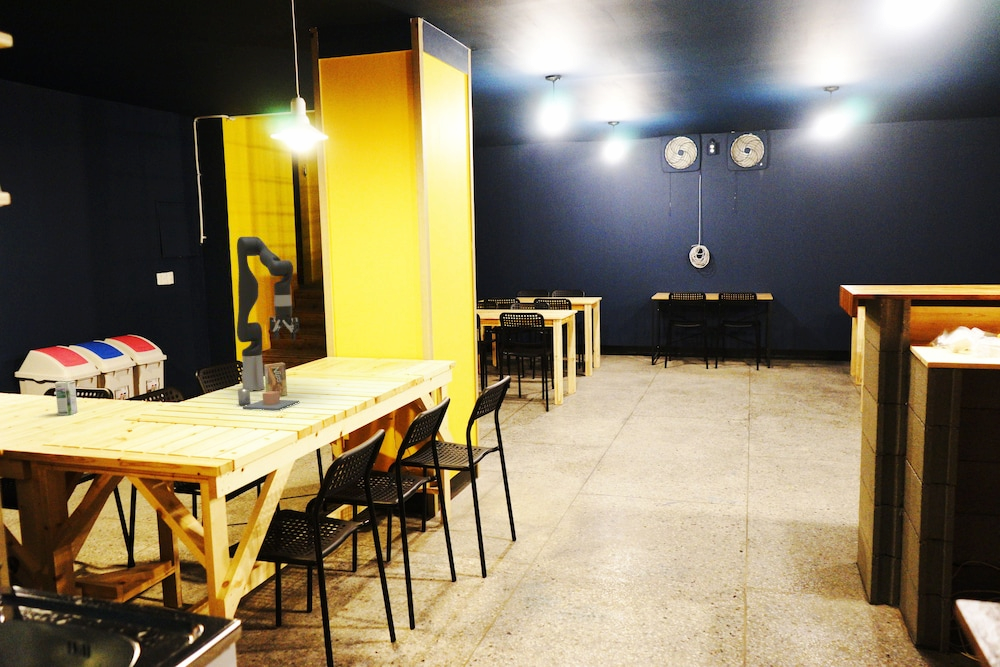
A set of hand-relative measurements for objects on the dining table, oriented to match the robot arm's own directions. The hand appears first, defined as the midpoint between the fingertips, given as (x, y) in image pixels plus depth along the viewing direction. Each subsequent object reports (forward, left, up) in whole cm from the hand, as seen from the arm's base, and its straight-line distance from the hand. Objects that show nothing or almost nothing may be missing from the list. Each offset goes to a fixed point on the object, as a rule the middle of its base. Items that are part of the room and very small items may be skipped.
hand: (284, 340), depth 342 cm
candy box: (-9, +5, -28) cm, 29 cm away
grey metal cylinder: (-12, -15, -27) cm, 34 cm away
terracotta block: (+2, -15, -26) cm, 31 cm away
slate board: (+2, -15, -27) cm, 31 cm away
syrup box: (-80, -46, -28) cm, 97 cm away
